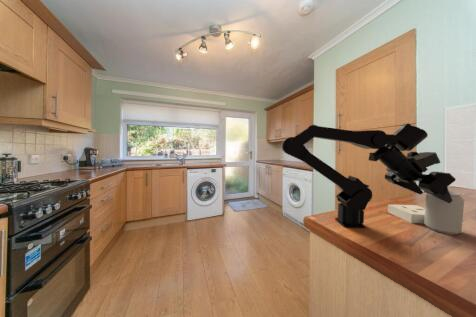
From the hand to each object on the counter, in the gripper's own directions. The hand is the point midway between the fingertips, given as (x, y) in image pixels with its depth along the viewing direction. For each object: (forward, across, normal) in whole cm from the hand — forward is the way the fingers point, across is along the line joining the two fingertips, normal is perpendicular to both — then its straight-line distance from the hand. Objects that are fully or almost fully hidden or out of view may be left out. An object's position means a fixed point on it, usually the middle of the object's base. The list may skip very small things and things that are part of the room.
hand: (434, 197), depth 53 cm
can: (+9, 0, +6) cm, 11 cm away
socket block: (+8, +9, +6) cm, 14 cm away
